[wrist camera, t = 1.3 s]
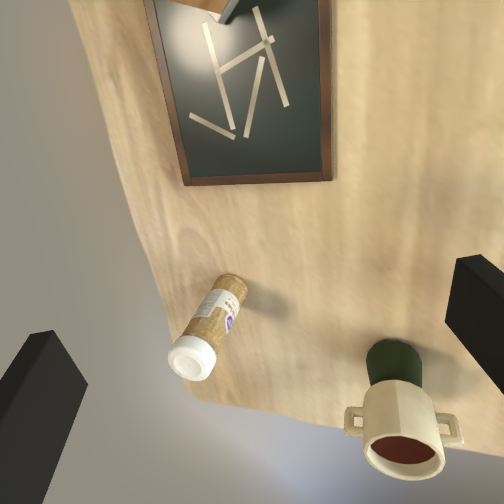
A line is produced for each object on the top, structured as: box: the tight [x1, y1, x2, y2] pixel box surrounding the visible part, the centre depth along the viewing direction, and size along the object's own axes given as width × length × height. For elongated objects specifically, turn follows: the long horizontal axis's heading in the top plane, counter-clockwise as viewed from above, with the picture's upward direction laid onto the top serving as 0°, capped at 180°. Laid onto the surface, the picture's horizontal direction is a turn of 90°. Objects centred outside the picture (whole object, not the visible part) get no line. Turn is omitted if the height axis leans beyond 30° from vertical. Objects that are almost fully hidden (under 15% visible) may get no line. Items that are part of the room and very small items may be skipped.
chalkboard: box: [143, 0, 333, 186], centre depth 30 cm, size 26×16×1 cm, turn 7°
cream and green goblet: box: [344, 340, 464, 480], centre depth 37 cm, size 11×7×13 cm, turn 104°
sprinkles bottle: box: [168, 274, 247, 381], centre depth 39 cm, size 5×5×14 cm
